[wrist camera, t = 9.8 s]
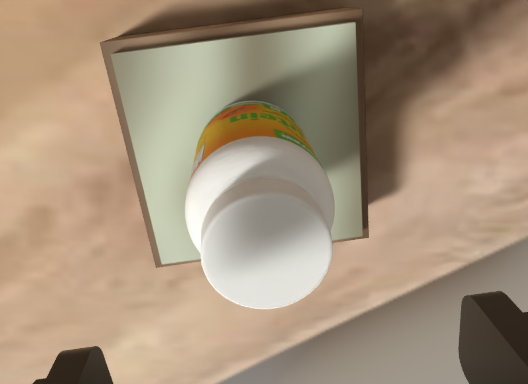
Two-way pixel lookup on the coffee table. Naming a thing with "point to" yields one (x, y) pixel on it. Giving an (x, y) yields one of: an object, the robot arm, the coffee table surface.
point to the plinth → (233, 91)
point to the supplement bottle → (259, 207)
